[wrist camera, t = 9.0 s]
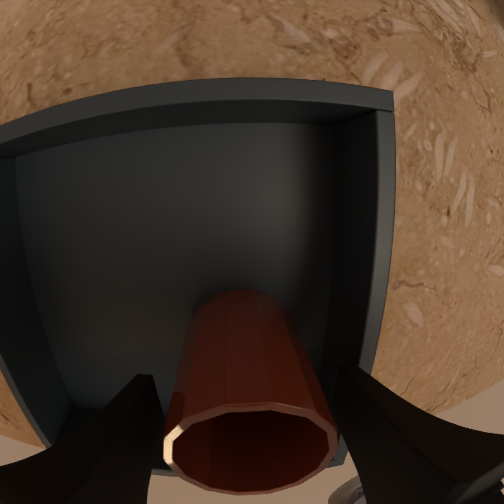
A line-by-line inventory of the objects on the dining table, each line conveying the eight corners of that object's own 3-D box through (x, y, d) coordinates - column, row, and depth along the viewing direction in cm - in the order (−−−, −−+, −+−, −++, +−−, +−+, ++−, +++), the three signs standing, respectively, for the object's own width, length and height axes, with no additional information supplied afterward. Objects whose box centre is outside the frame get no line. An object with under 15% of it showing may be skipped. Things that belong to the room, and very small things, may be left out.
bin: (323, 409, 16) (343, 465, 12) (73, 405, 15) (49, 452, 11) (342, 113, 12) (393, 90, 7) (13, 146, 11) (-47, 147, 6)
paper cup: (293, 374, 14) (326, 485, 8) (194, 378, 14) (179, 494, 7) (297, 285, 13) (355, 390, 6) (181, 290, 13) (140, 402, 6)
